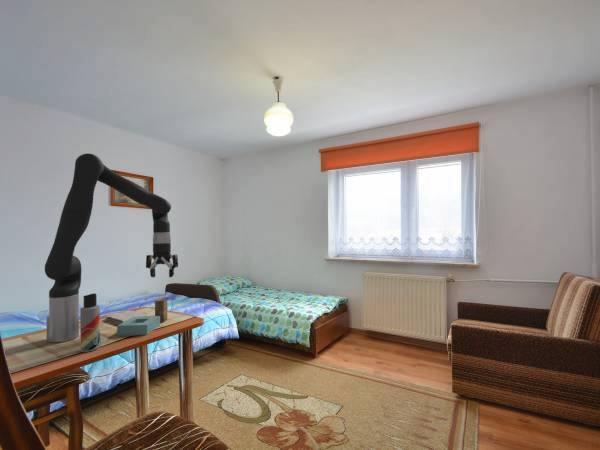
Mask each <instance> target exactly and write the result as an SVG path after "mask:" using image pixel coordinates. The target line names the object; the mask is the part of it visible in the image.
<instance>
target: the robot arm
mask: <svg viewBox="0 0 600 450" xmlns="http://www.w3.org/2000/svg"><path fill="white" fill-rule="evenodd" d="M98 182H99V183H102V184H104V185H106V186H108V187H110V188H112V189H114V190H116V191H117V192H119V193H120V194H122V195H123V196H125V197H127V198H129V199H130V200H132V201H134V202H136V203H137V204H139V205H141V206H145V207H147V208H149V209H151V214H152V215H151V216H152V222H153V225H152V228H153V233H152V254H146V258H145V268H146V269H149V274H150V277H151V278H156V267H157V266H158V265H166V266H167V267H168V268H169V269H168V277H169V278H173V277H174V275H175V269H176V268H178V267H179V260H178V258H179V257H178V254H172V253H171V252H172V251H171V250H172V249H171V247H172V245H171V244H172V243H171V241H172V238H171V237H172V236H171V225H170V221H169V213H170V212H171V210H172V204H171V203H170V201H168V200H167V199H165V198H164V197H161V196H160V195H157V194H156V193H153V192H151V191H150V190H148V189H147V188H145V187H143V186H141V185H139V184H137V183H136V182H134V181H132V180H130V179H127V178H125V177H123V176H121V175H120V174H118V173H116V172H114V171H113V170H111V169H110V168H109V167H107V166H106V165H105V163H103V161H102V160H101V158H100V157H98V156H97V155H96V154H93V153H83V154H80V155H79V156H78V157H77V158H76V159H75V162H74V173H73V178H72V182H71V183H72V184H71V187H70V189H69V192H68V194H67V196H66V200H65V202H64V204H63V208H62V210H61V215H60V218H59V223H58V225H57V226H58V227H57V229H56V233H55V236H54V241H53V244H52V246H51V249H50V252H49V254H48V257H47V259H46V261H45V264H44V274H45V275H46V277H47V278H48V279H50V280H53V281H54V283H53V286H52V287H51V288H50V289H49V292H48V311H49V312H48V316H46V319H45V320H46V324H45V326H46V342H49V343H63V342H67V341H70V340H74V339H76V338H78V337H79V335H80V303H79V301H80V297H79V293H80V291H79V290H80V288H81V284H82V264H81V260H80V259H79V258H78V257H77V256H75V255H74V253H75V249H76V246H77V245H78V242H79V241H80V239H81V238H82V236H83V234H84V233H85V231H87V228H88V226H89V223H90V219H91V216H92V211H93V205H94V196H95V195H94V193H95V188H96V185H97V183H98ZM152 260H153V262H152ZM171 260H172V261H171Z"/></svg>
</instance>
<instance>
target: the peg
mask: <svg viewBox="0 0 600 450" xmlns="http://www.w3.org/2000/svg"><path fill="white" fill-rule="evenodd" d="M154 316H160V323H165V322H166V321H168V298H158V299H156V300H154Z"/></svg>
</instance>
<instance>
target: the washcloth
mask: <svg viewBox="0 0 600 450" xmlns="http://www.w3.org/2000/svg"><path fill="white" fill-rule="evenodd" d="M132 317H148V315H147V314H145V313H141V312H139V311H134V310H131V309H130V310H129V309H128V310H127V309H126V310H124V311H120V312H114V313H111V314H110V313H109V314H106V317H105V320H106V321H108V322H110V323H113V324H117V325H120V324H121V323H123V322H125V321H127V320H128V319H130V318H132Z"/></svg>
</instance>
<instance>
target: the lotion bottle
mask: <svg viewBox="0 0 600 450" xmlns="http://www.w3.org/2000/svg"><path fill="white" fill-rule="evenodd" d="M97 301H98V300H97V293H96V292H95V293H90V294H86V295H83V306H82V307H81V308H79V335H80V351H81V352H82V353H89V352H93V351H96V350H98V349H100V347H101V325H100V324H101V319H100V318H101V311H100V310H101V309H100V305H99V304H98V303H97Z"/></svg>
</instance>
